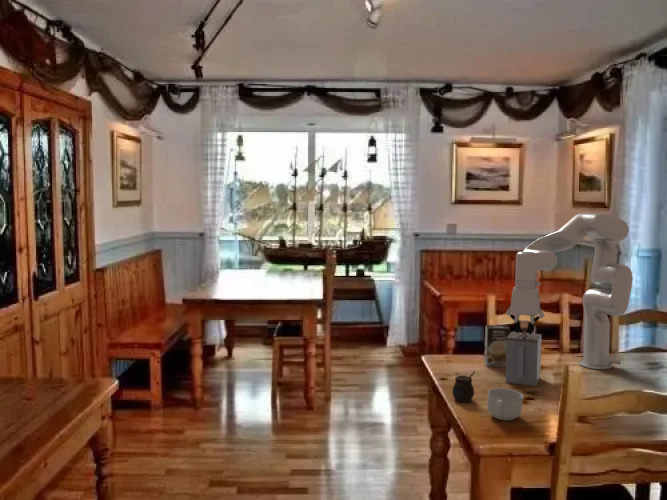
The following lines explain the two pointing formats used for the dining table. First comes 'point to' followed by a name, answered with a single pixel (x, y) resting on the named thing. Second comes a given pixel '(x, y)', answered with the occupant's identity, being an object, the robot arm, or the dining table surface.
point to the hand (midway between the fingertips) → (524, 332)
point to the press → (523, 358)
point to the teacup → (504, 403)
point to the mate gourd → (463, 388)
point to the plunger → (524, 326)
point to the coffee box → (496, 345)
